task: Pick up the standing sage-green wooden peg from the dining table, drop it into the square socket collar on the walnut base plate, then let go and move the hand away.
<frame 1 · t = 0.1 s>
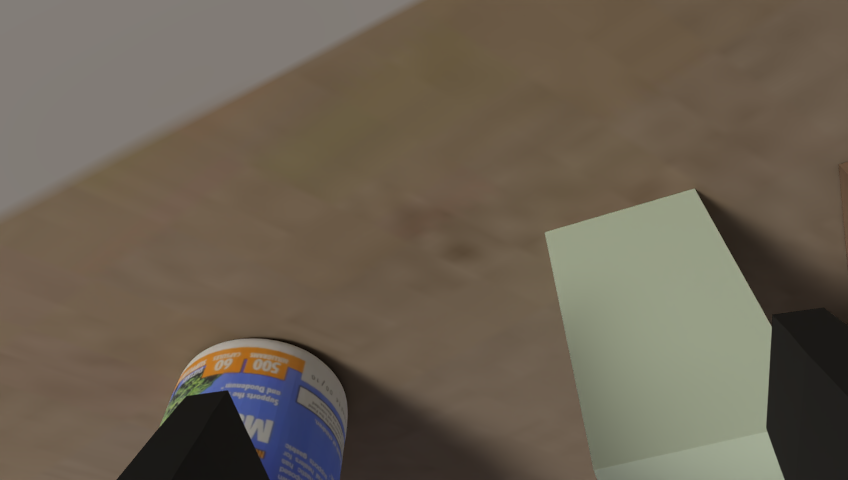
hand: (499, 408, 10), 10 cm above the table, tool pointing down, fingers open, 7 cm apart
pill bottle: (265, 392, 24), on the table
peg: (634, 268, 21), on the table
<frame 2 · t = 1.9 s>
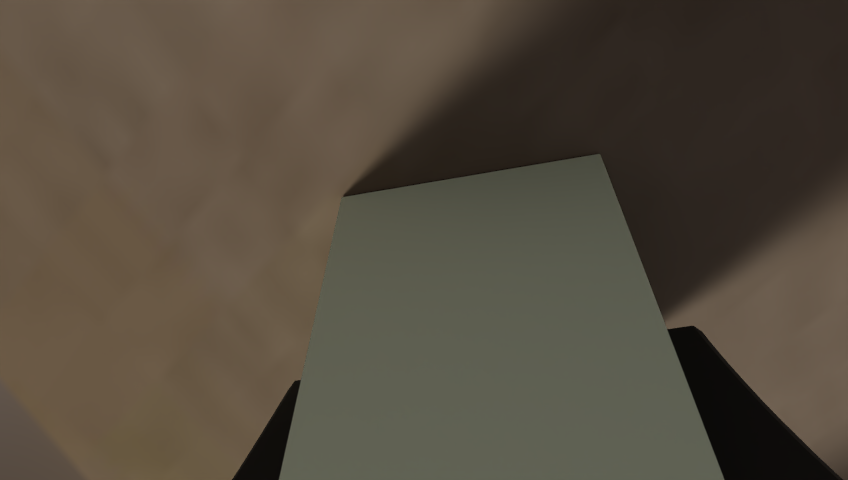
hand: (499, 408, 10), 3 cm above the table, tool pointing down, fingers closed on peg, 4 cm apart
peg: (488, 279, 13), on the table, touching gripper
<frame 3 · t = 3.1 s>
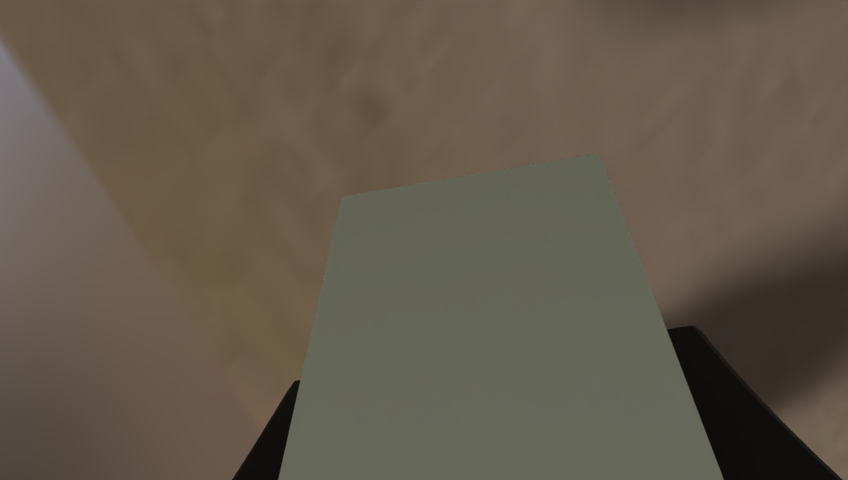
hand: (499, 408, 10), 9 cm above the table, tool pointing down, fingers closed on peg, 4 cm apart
peg: (488, 279, 13), point 6 cm above the table, touching gripper
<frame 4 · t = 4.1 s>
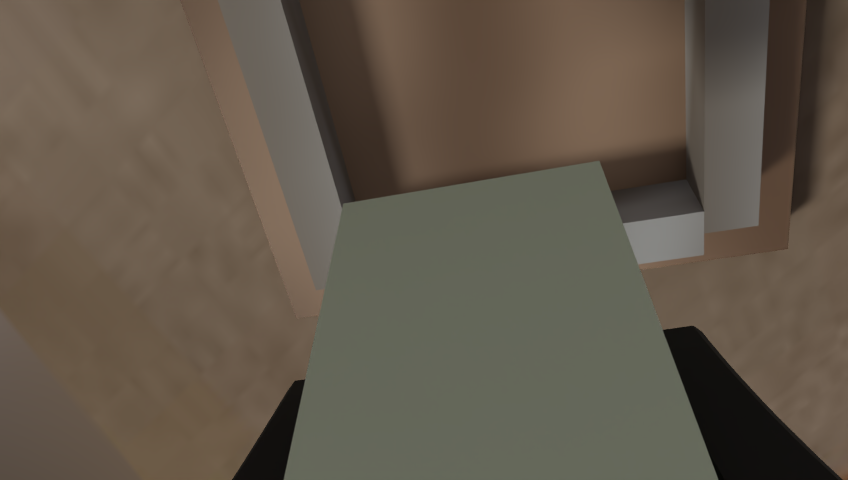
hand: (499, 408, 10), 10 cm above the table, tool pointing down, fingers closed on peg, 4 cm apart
peg: (488, 285, 13), point 7 cm above the table, touching gripper
socket plate: (495, 35, 18), on the table
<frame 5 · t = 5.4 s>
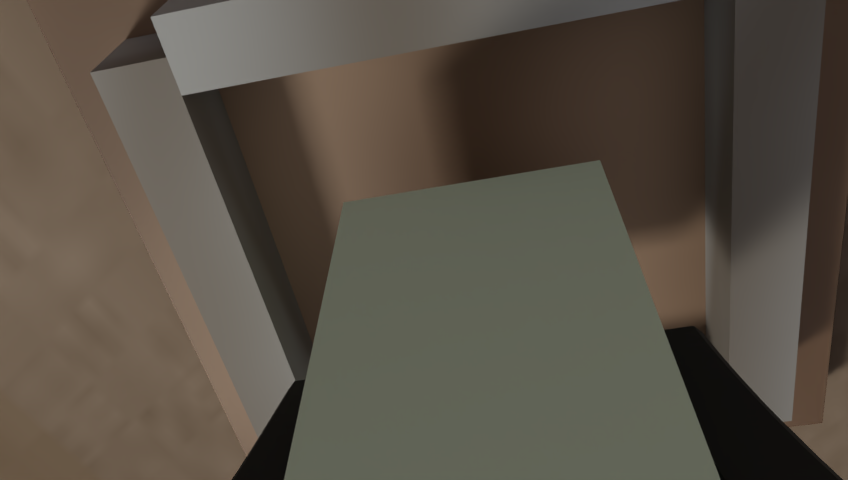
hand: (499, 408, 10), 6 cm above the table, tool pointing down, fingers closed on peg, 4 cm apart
peg: (488, 284, 13), point 3 cm above the table, touching gripper
socket plate: (482, 197, 15), on the table
when the fingers open (5 cm above the table, at t = 6.4 s): peg stays where it is, resting on socket plate.
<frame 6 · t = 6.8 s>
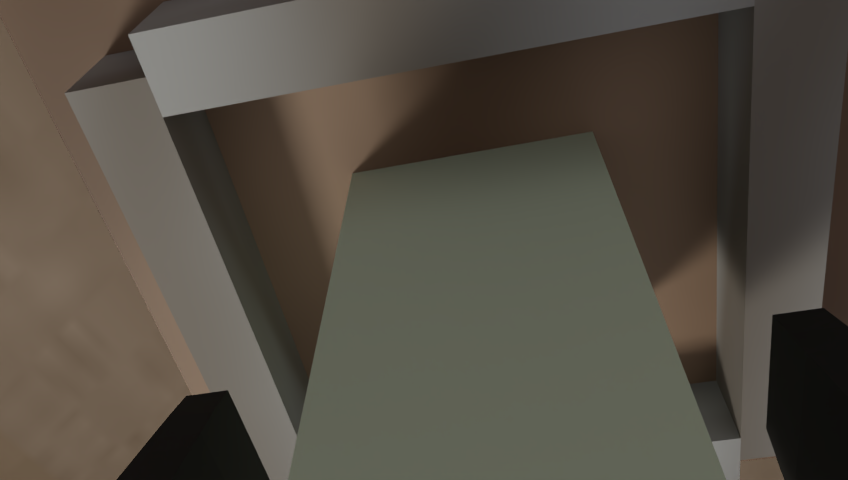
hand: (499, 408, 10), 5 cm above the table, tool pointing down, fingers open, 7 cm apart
peg: (489, 251, 14), point 1 cm above the table, touching socket plate
socket plate: (483, 217, 14), on the table
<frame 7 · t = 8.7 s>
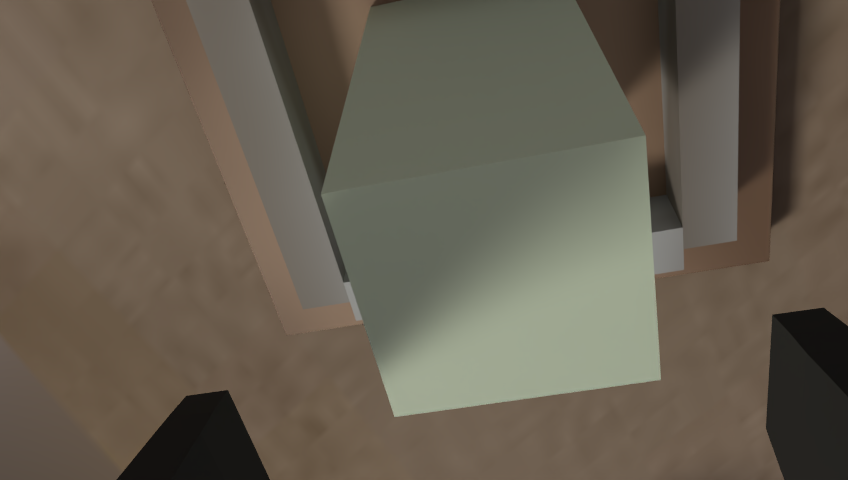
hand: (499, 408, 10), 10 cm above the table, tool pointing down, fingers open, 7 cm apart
peg: (479, 76, 17), point 1 cm above the table, touching socket plate
socket plate: (474, 56, 18), on the table
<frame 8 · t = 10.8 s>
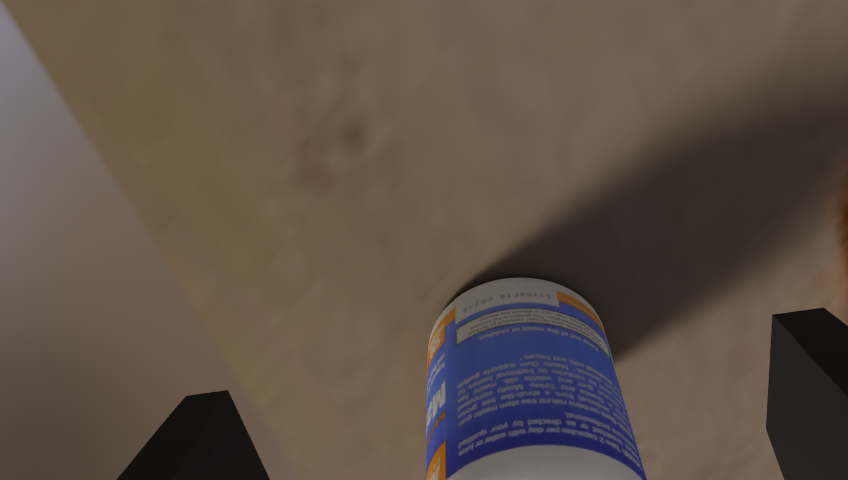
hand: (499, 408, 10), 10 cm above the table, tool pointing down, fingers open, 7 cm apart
pill bottle: (516, 338, 23), on the table
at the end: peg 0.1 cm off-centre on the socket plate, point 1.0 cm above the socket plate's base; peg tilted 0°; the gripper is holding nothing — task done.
